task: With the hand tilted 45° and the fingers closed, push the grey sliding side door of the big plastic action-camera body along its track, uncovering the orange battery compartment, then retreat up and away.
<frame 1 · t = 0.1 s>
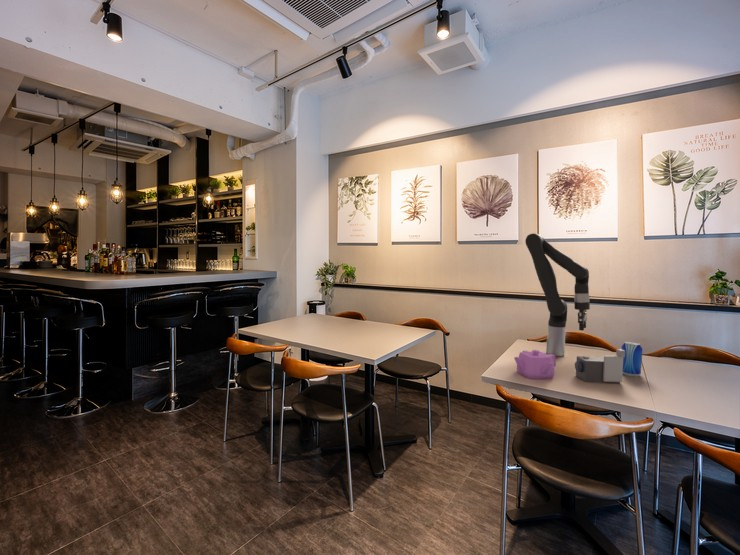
hand: (582, 329, 203), 17 cm above the table, tool pointing down, fingers open, 8 cm apart
beer can: (630, 374, 178), on the table
camera body: (597, 379, 170), on the table
side door: (613, 365, 164), point 8 cm above the table, slide at 0.0 cm
teakettle: (534, 375, 175), on the table
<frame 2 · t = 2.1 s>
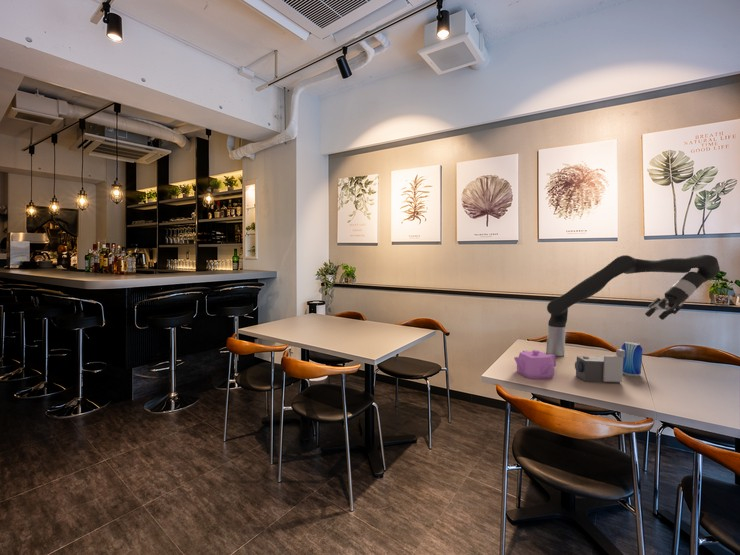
hand: (653, 316, 162), 32 cm above the table, tool tilted 45°, fingers open, 8 cm apart
nothing on the table moved.
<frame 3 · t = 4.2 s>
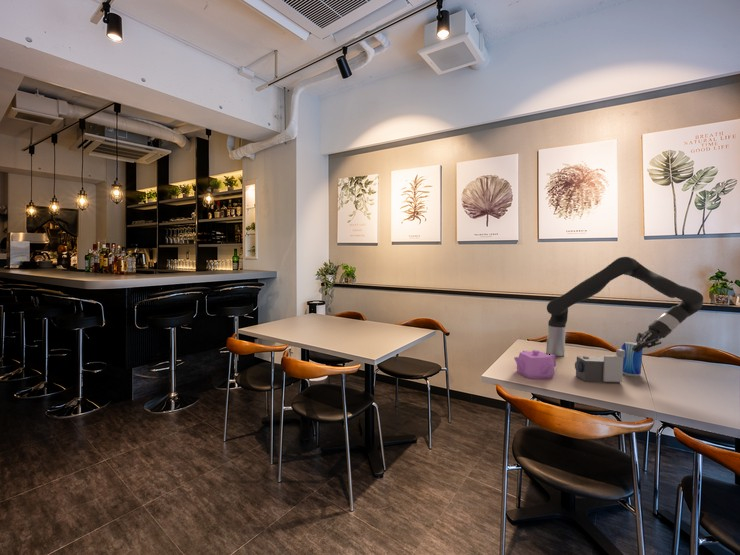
hand: (634, 351, 163), 16 cm above the table, tool tilted 45°, fingers closed
nothing on the table moved.
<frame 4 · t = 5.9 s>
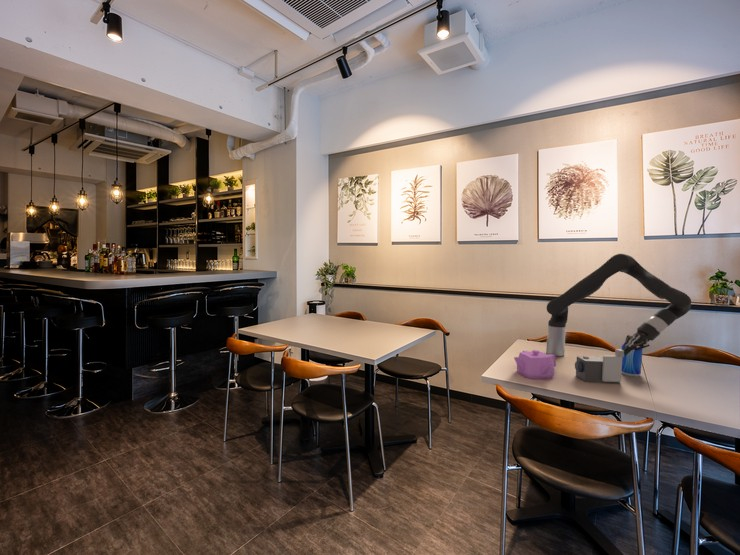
hand: (622, 353, 163), 14 cm above the table, tool tilted 45°, fingers closed
side door: (612, 365, 164), point 9 cm above the table, slide at 0.5 cm, touching gripper
everything else where it was.
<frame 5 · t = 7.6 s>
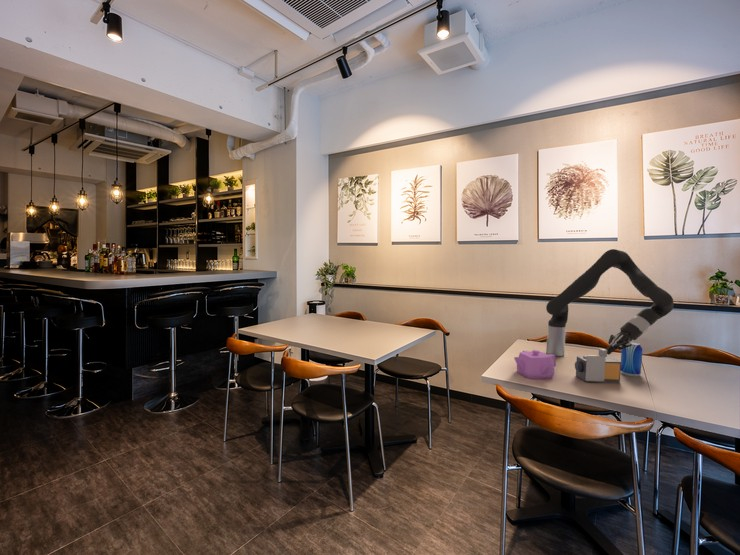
hand: (606, 352, 164), 14 cm above the table, tool tilted 45°, fingers closed
side door: (595, 365, 164), point 8 cm above the table, slide at 7.9 cm, touching gripper
everything else where it was.
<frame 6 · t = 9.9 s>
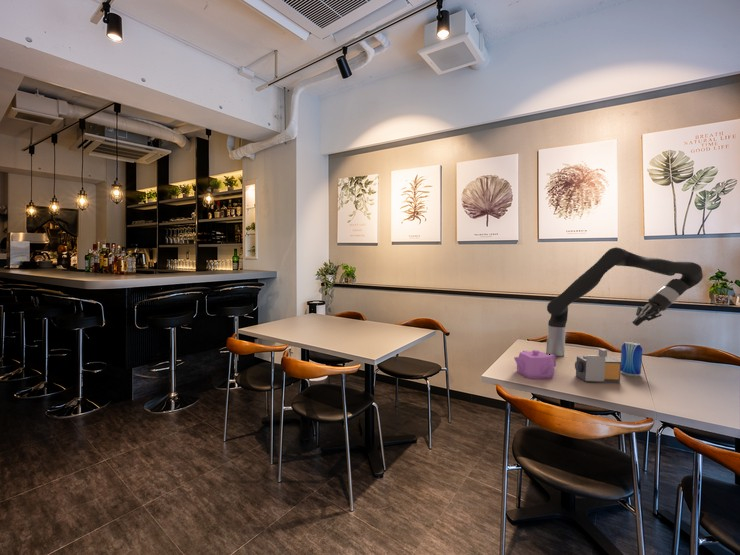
hand: (634, 324, 164), 28 cm above the table, tool tilted 45°, fingers closed
side door: (595, 365, 164), point 9 cm above the table, slide at 8.0 cm
everything else where it was.
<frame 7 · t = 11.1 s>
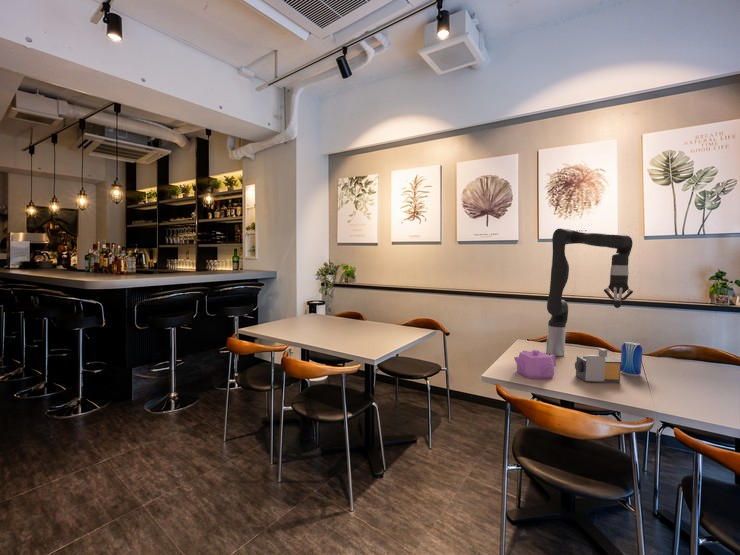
hand: (617, 307, 181), 33 cm above the table, tool pointing down, fingers closed
nothing on the table moved.
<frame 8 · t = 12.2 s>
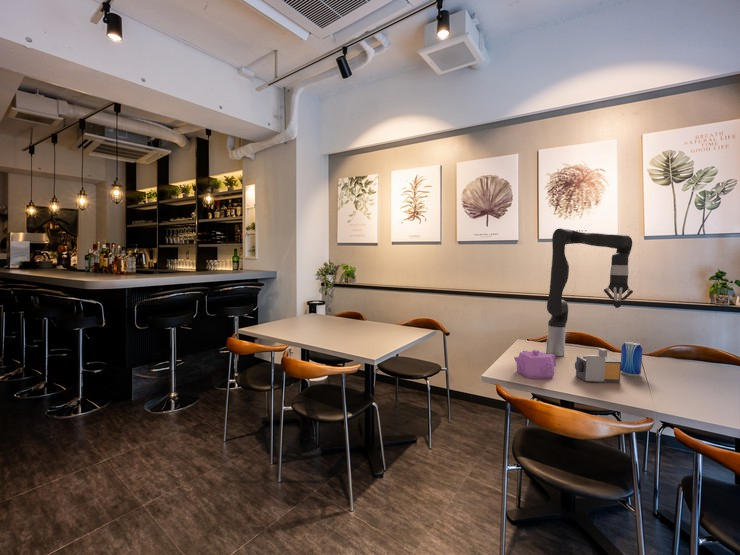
hand: (617, 307, 181), 33 cm above the table, tool pointing down, fingers closed
nothing on the table moved.
at the end: side door slide at 8.0 cm; beer can moved 0.2 cm from its start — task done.
